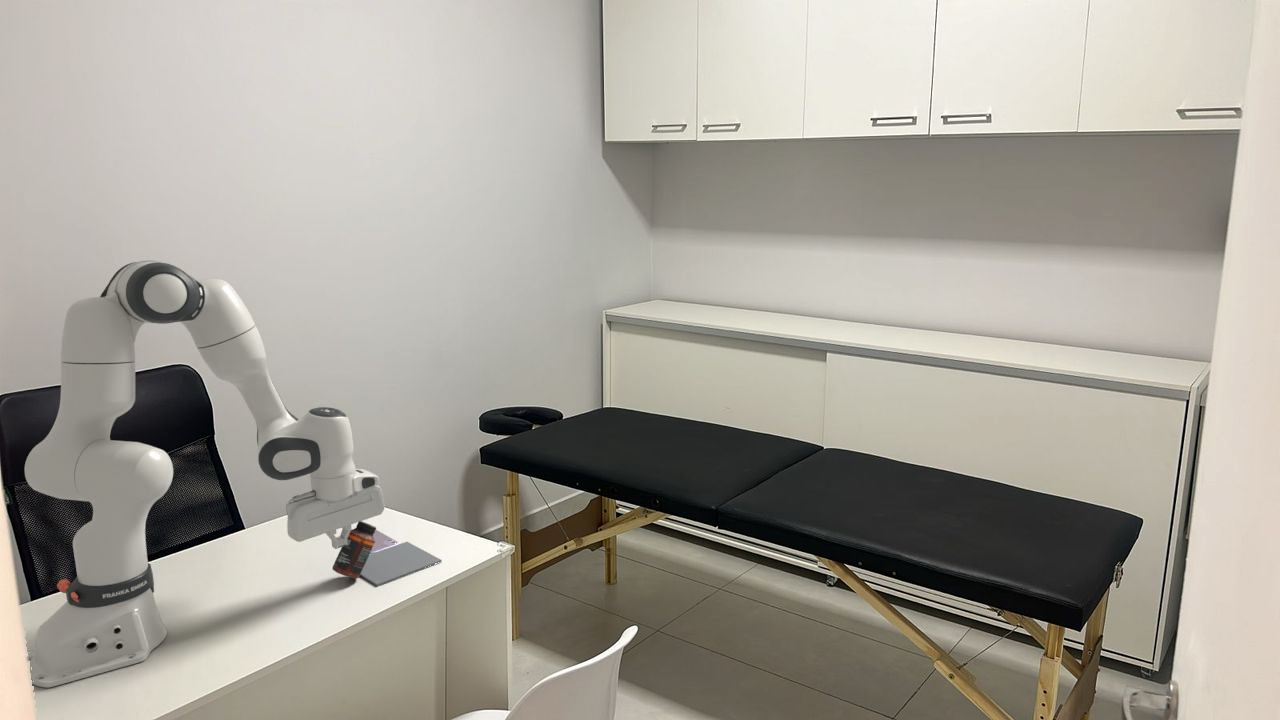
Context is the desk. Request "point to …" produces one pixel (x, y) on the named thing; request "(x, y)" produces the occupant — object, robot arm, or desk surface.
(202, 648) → the desk surface
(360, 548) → the supplement bottle
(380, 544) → the mobile phone
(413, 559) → the mat
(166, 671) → the desk surface
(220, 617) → the desk surface
